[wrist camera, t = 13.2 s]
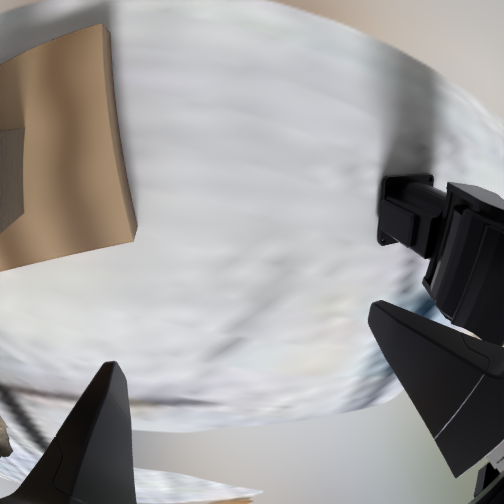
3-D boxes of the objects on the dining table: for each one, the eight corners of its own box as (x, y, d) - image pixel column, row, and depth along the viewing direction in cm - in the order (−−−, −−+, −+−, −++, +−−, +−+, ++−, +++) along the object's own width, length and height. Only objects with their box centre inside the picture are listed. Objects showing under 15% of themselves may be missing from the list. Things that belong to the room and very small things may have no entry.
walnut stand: (110, 33, 13) (101, 23, 11) (137, 227, 19) (133, 241, 17) (-68, 122, 10) (-85, 126, 7) (-32, 269, 16) (-45, 283, 14)
